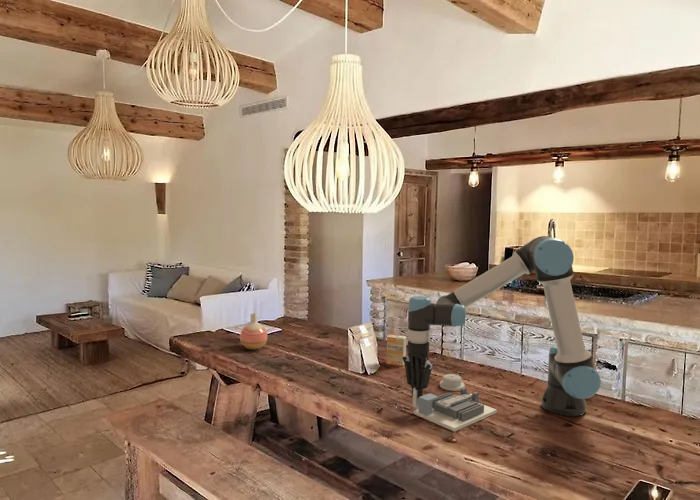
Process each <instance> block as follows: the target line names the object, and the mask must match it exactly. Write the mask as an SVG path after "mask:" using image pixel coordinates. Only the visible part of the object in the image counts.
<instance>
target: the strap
mask: <svg viewBox="0 0 700 500" xmlns="http://www.w3.org/2000/svg"><path fill="white" fill-rule="evenodd" d="M472 395H473V393H468V392H467V393H465V394H463V395H461V394H460V395H459V396H457V397H454V398H451V399H448V400H445V401H437V402H435V404H436V405H438V406H441V407H443V408H446V409H447V408H450V407H451V405H454V404H457V403H460V402H463V401H466V400H472Z"/></svg>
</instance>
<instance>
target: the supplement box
mask: <svg viewBox="0 0 700 500" xmlns="http://www.w3.org/2000/svg"><path fill="white" fill-rule="evenodd" d="M405 356H407V336H405V335H404V336H403V335H396V334H388V335H387V336H386V358H385V363H386V365H391V366H392V365H393V366H399V367H405V363H404V361H403V357H405Z"/></svg>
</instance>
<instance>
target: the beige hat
mask: <svg viewBox="0 0 700 500" xmlns="http://www.w3.org/2000/svg"><path fill="white" fill-rule="evenodd" d="M465 385H466V384H465V383H464V382H463V377H462V376H460V375H459V374H456V373H455V374H454V373H448V374H447V373H446V374H444V375H443V376H442V380H441V381H439V387H440V388H441V389H443V390H446V391H449V392H450V391H452V392H453V391H454V392H457V391H458V392H461V389H462V388H466V387H465Z"/></svg>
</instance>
